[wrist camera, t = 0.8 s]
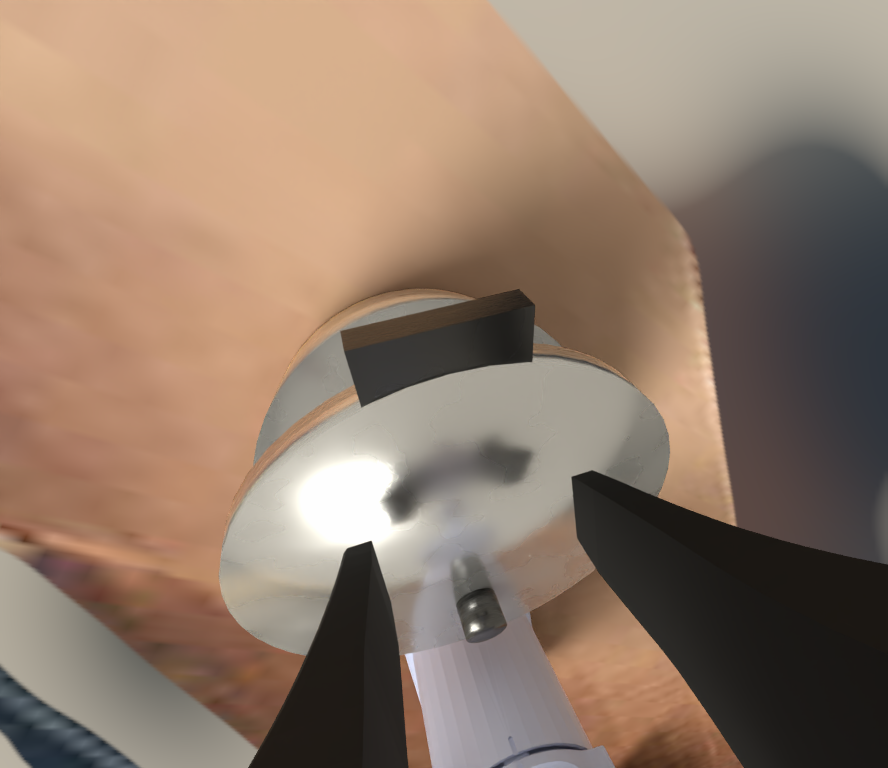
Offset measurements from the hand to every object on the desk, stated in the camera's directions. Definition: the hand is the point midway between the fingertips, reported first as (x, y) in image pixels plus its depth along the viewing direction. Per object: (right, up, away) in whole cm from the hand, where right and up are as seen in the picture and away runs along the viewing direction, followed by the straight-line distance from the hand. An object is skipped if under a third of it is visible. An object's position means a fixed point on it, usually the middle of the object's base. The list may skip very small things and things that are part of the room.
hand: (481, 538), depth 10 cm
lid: (0, 0, +3) cm, 3 cm away
